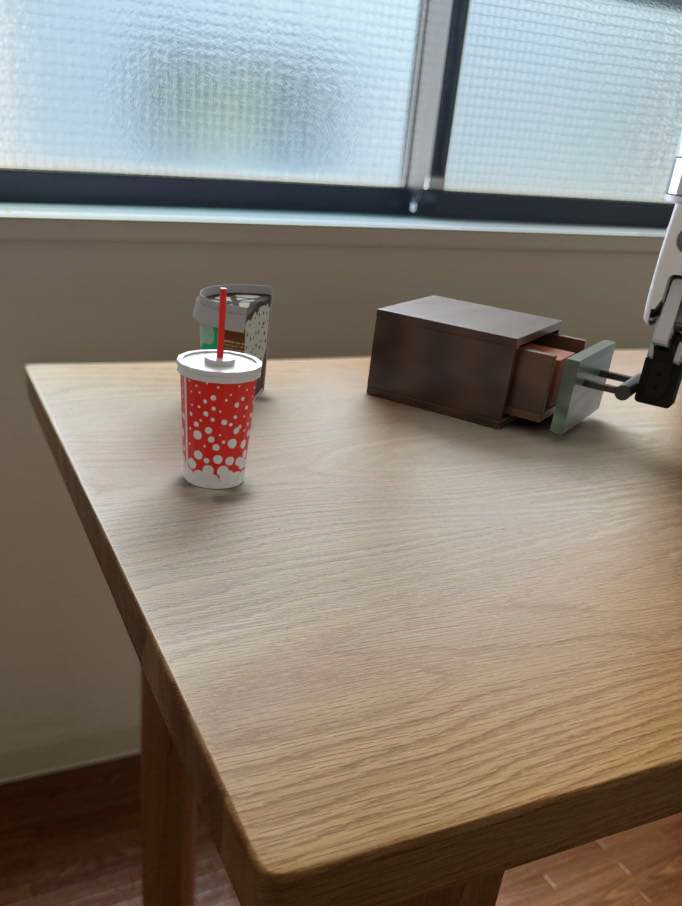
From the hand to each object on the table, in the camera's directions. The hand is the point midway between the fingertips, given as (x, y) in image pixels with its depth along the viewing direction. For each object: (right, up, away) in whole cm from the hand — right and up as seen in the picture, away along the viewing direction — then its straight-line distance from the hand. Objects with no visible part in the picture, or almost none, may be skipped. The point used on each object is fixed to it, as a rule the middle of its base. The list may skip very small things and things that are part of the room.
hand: (653, 402), depth 78 cm
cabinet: (-16, +2, +11) cm, 19 cm away
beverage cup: (-39, -8, -13) cm, 42 cm away
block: (-9, +2, +6) cm, 11 cm away
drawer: (-9, 0, +7) cm, 11 cm away
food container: (-40, +1, +5) cm, 40 cm away
